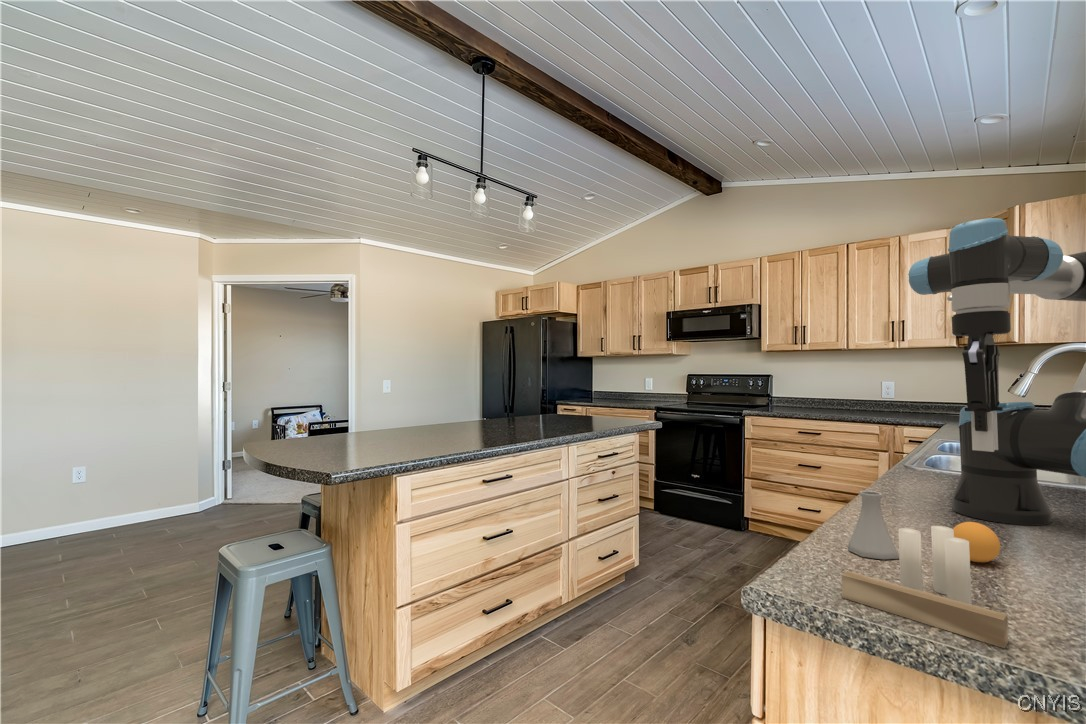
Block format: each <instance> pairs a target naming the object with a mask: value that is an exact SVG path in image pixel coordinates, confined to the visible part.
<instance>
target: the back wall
mask: <svg viewBox="0 0 1086 724" xmlns="http://www.w3.org/2000/svg"><path fill="white" fill-rule="evenodd" d="M841 591H842V593H841V594H842V595H841V598H842V599H846V600H848V601H852V602H854V603H859V604H861V605H865V606H867V607H871V608H873V609H878V610H879V611H880V610H881V611H883V612H887V613H890V614H893V615H897V616H900V617H903V618H906V619H910V620H913V621H916V622H919V623H922V624H924V625H925V624H926V625H928V626H932V627H935V628H938V629H941V630H945V631H949V632H951V633H954V634H957V635H960V636H962V637H963V636H964V637H968V638H970V639H974V640H977V641H980V642H983V643H987V644H989V645H992V646H996V647H999V648H1002V649H1006V647H1007V645H1008V644H1009V627H1008V626H1009V624H1008V622H1009V621H1008V619H1009V618H1008V614H1006V613H1003V612H999V611H996V610H992V609H988V608H986V607H985V608H984V607H981V606H977V605H974V604H972V603H971V604H967V603H963V602H960V601H956V600H952V599H949V598H947V597H944V596H940V595H937V594H933V593H930V592H927V591H919V590H916V589H912V588H908V587H905V586H901V585H900V584H897V583H894V582H891V581H885V580H883V579H882V580H881V579H878V578H874V577H871V576H868V575H864V574H861V573H857V572H852V571H849V570H847V571H845V572H844V573H842V574H841Z"/></svg>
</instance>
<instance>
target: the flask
mask: <svg viewBox="0 0 1086 724" xmlns="http://www.w3.org/2000/svg"><path fill="white" fill-rule="evenodd" d="M859 495H860V497H861V507H860V512H859V513H860V514H859V516H858V519H857V521H856V524H855V528H854V530H853V532H852V535H851V536H850V538H849V539H850V540H849V541H848V546H847V548H848V551H849V552H851V553H854V554H856V555H857V556H860V557H863V558H869V559H876V560H895V559H896V560H898V559H899V560H900V558H899V554H898V551H897V548H896V545H895V544H894V541H893V539H892V537H891V535H890V532H889V529H888V527H887V524H886V522H885V519H884V515H883V511H882V507H881V499H882V498H883V493H882V492H879V491H875V490H860V491H859Z"/></svg>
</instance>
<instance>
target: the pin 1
mask: <svg viewBox="0 0 1086 724" xmlns="http://www.w3.org/2000/svg"><path fill="white" fill-rule="evenodd" d="M921 535H922V533H921V531H920V530H918V529H914V528H908V527H899V528H898V550H899V551H898V552H899V554H898V556H899V581H900V582H899V583H900V584H899V585H901V586H905V587H908V588H912V589H916V590H919V591H923V590H924V589H923V564H922V563H923V562H922V559H923V558H922V557H923V556H922V537H921ZM923 592H924V591H923Z"/></svg>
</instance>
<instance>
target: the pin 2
mask: <svg viewBox="0 0 1086 724" xmlns="http://www.w3.org/2000/svg"><path fill="white" fill-rule="evenodd" d="M945 564H946V592H947V595H946V598H949V599H952V600H956V601H960V602H963V603H967V604H971V605H972V583H971V580H972V579H971V561H970V552H969V541H967V540H965V539H961V538H956V537H945Z"/></svg>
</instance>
